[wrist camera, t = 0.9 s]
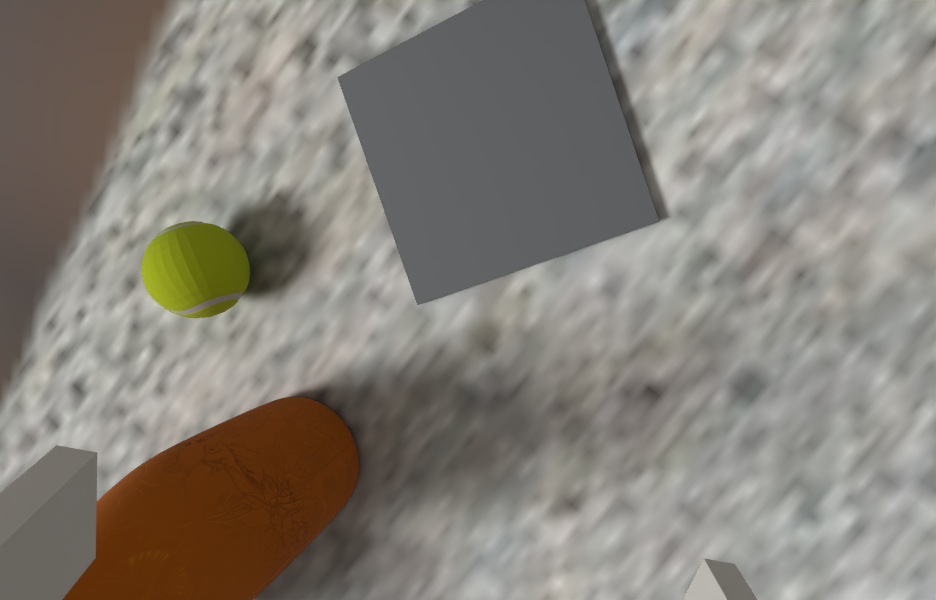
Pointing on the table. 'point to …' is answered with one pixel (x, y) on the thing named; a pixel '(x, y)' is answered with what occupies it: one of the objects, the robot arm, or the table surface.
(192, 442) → the wine bottle
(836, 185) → the table surface
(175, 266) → the tennis ball
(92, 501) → the robot arm
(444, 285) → the mat
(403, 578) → the table surface
